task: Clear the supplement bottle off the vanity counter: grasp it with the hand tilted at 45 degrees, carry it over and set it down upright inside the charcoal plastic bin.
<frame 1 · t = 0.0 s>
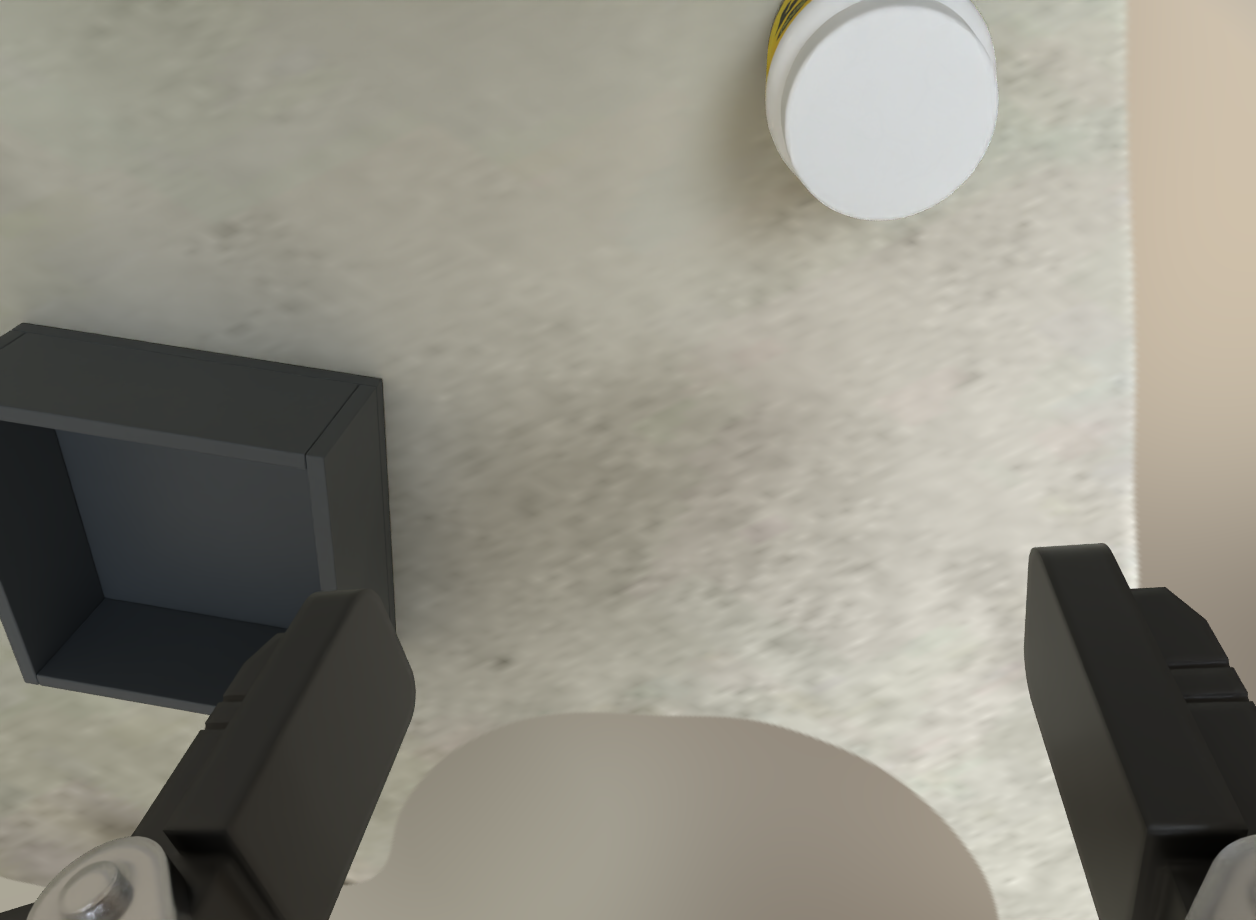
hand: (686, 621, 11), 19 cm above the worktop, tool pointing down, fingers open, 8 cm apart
supplement bottle: (856, 44, 24), on the worktop
bin: (227, 499, 36), on the worktop
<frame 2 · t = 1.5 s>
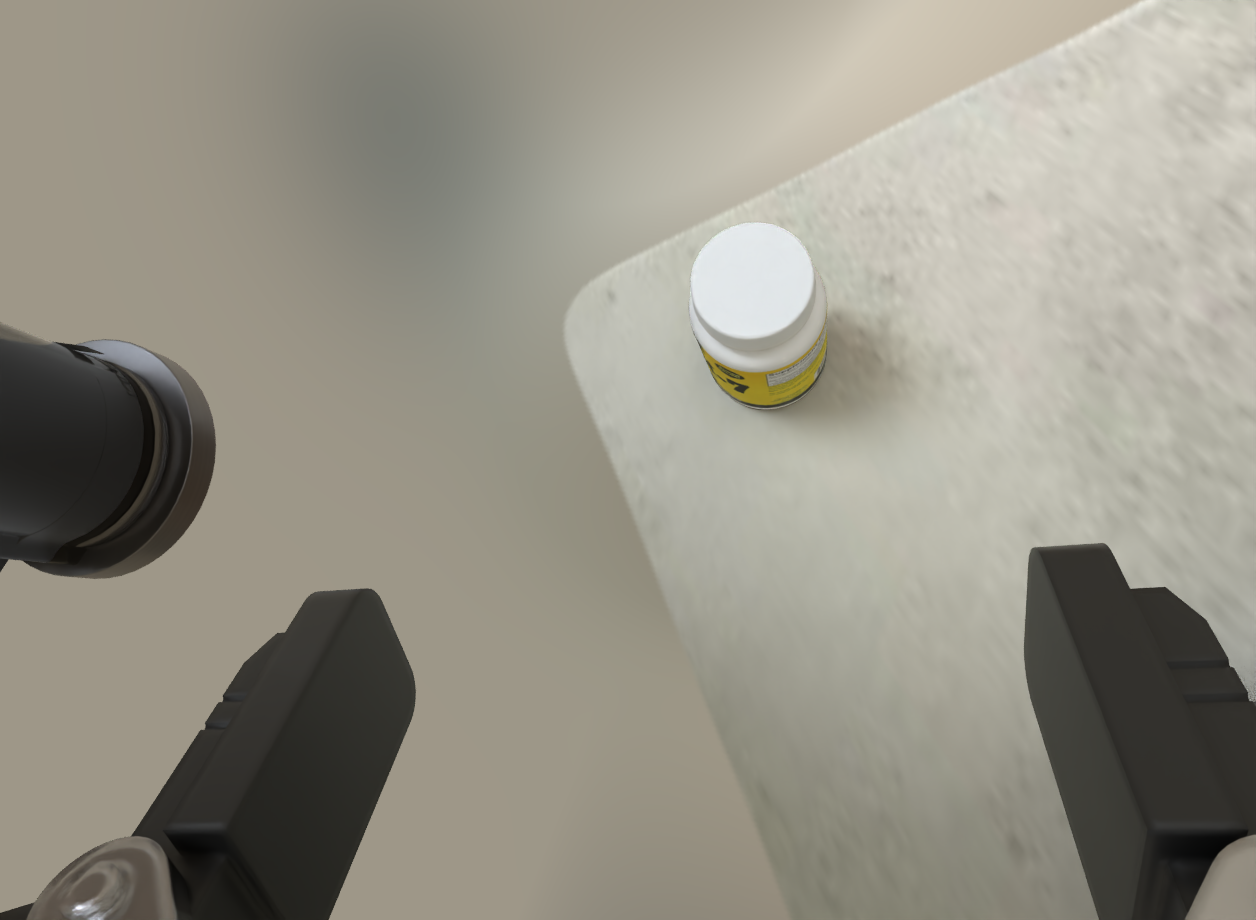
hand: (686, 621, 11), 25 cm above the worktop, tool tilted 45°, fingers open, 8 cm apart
supplement bottle: (767, 357, 37), on the worktop
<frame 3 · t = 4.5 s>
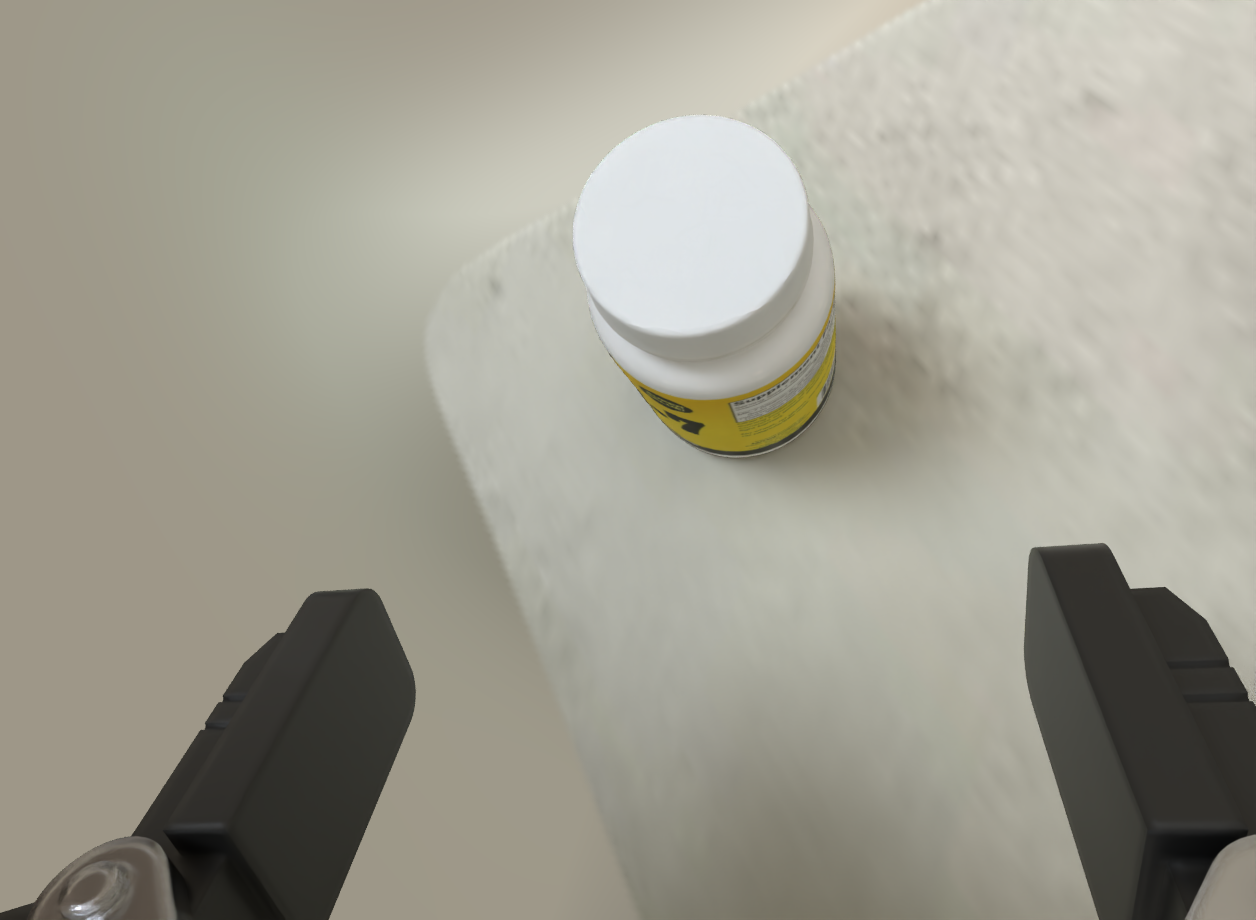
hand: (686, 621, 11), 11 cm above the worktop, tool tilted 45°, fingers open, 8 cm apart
supplement bottle: (740, 372, 23), on the worktop
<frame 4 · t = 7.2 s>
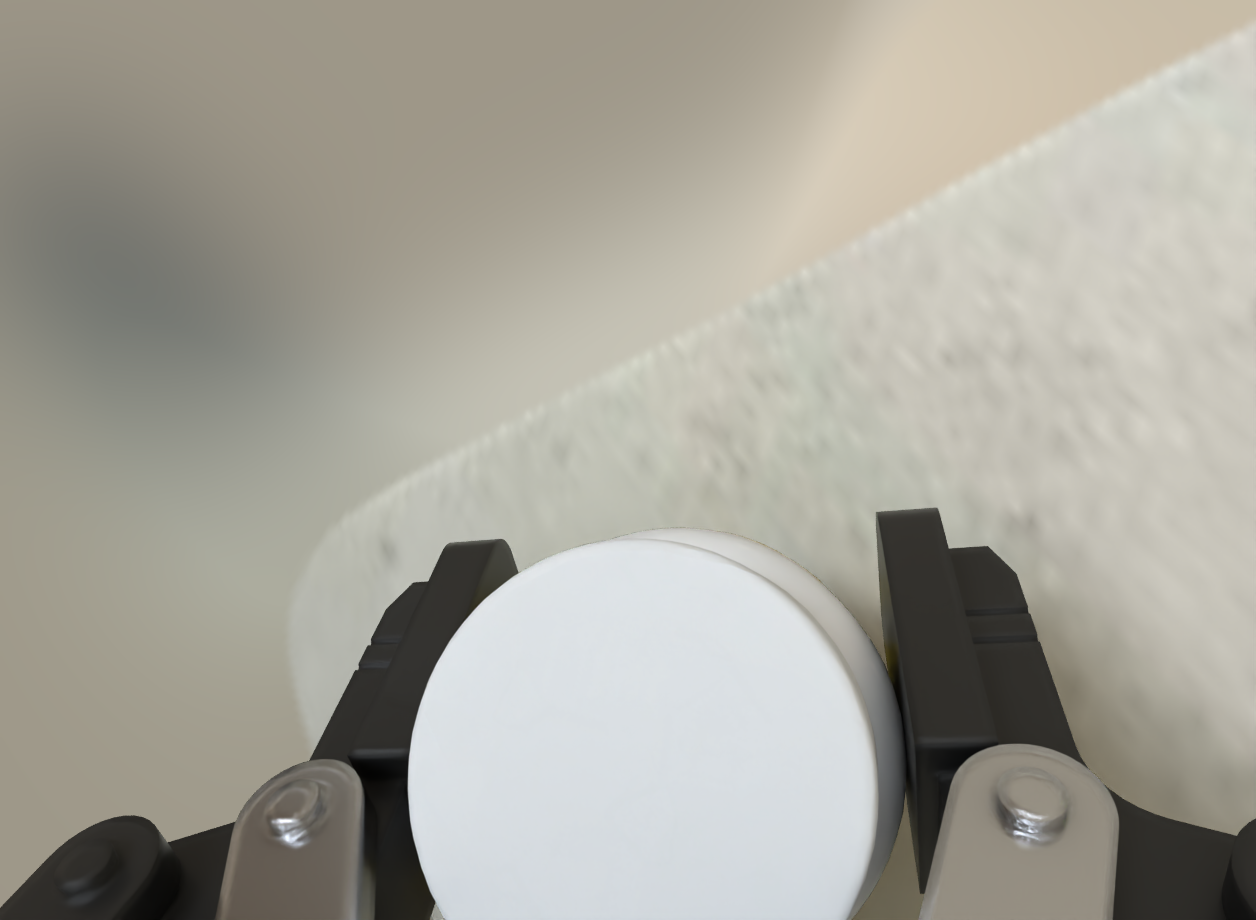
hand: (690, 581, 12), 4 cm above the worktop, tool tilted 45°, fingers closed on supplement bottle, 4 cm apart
supplement bottle: (737, 710, 16), on the worktop, touching gripper
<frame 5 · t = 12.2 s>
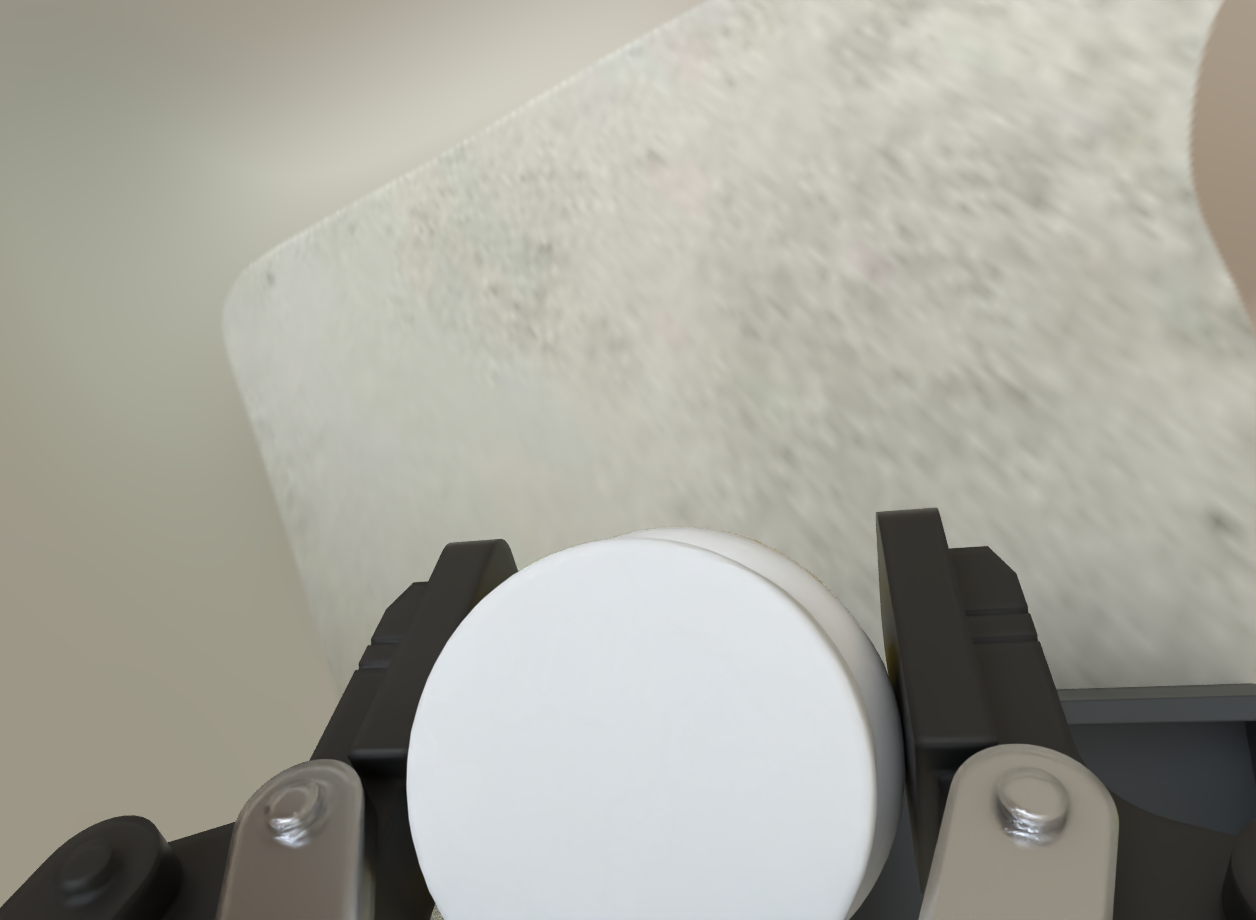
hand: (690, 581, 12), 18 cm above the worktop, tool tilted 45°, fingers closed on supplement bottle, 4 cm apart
supplement bottle: (737, 710, 16), point 14 cm above the worktop, touching gripper
when the fingers open (5 cm above the worktop, at t = 17.5 s): supplement bottle stays where it is, resting on bin.
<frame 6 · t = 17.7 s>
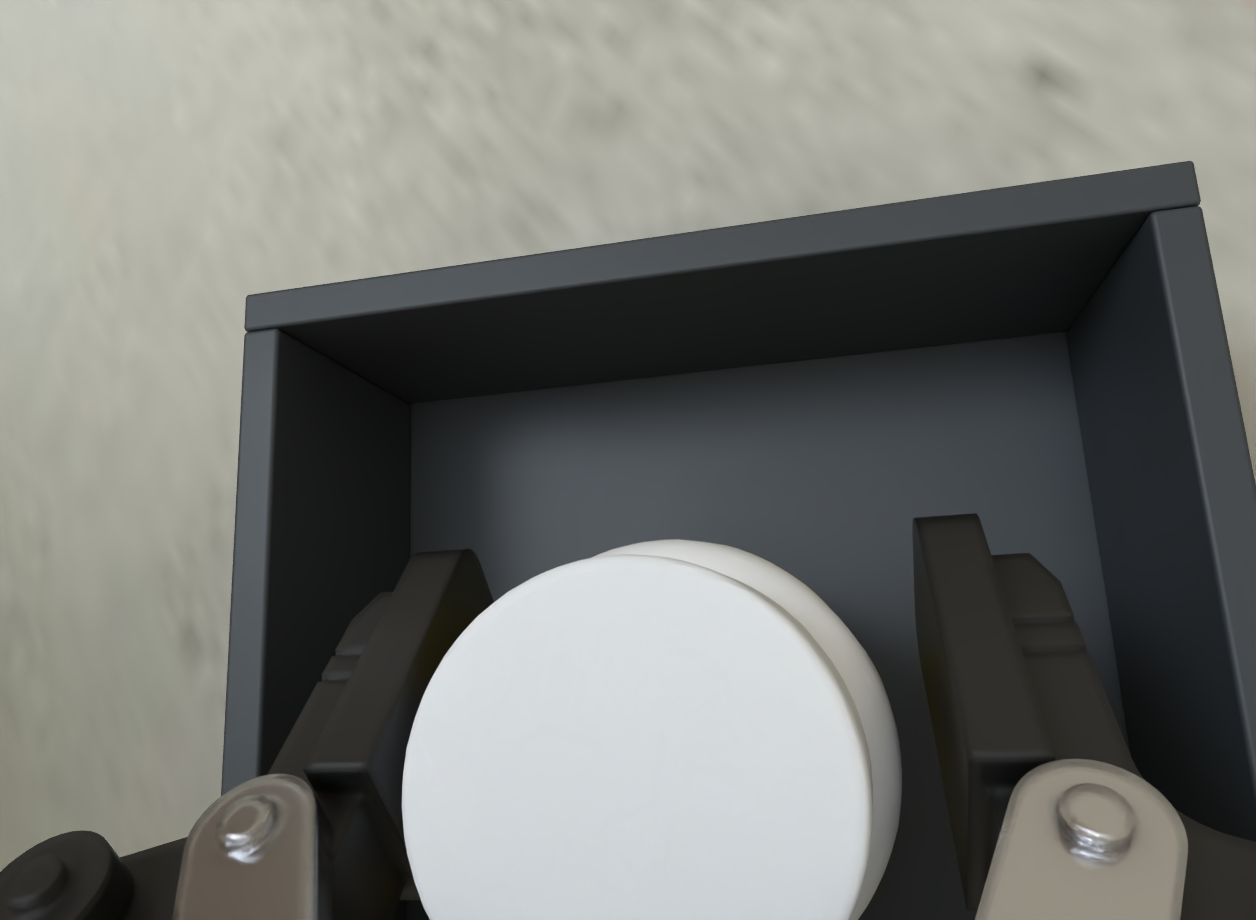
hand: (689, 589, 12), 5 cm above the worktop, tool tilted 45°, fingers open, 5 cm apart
supplement bottle: (735, 718, 16), resting on bin
bin: (739, 706, 16), on the worktop
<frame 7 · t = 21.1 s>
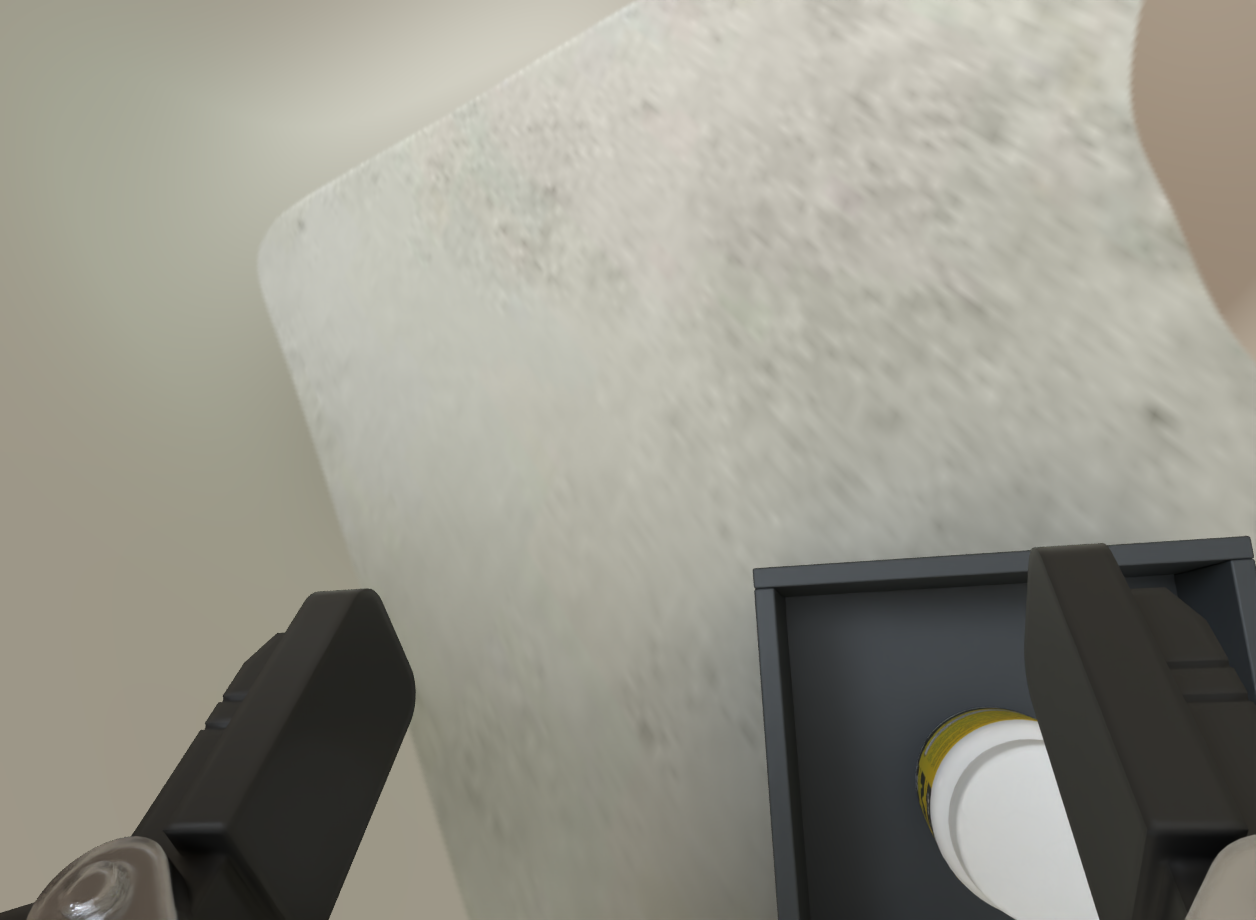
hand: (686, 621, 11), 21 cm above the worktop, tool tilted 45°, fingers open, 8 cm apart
supplement bottle: (993, 784, 29), resting on bin
bin: (991, 777, 29), on the worktop
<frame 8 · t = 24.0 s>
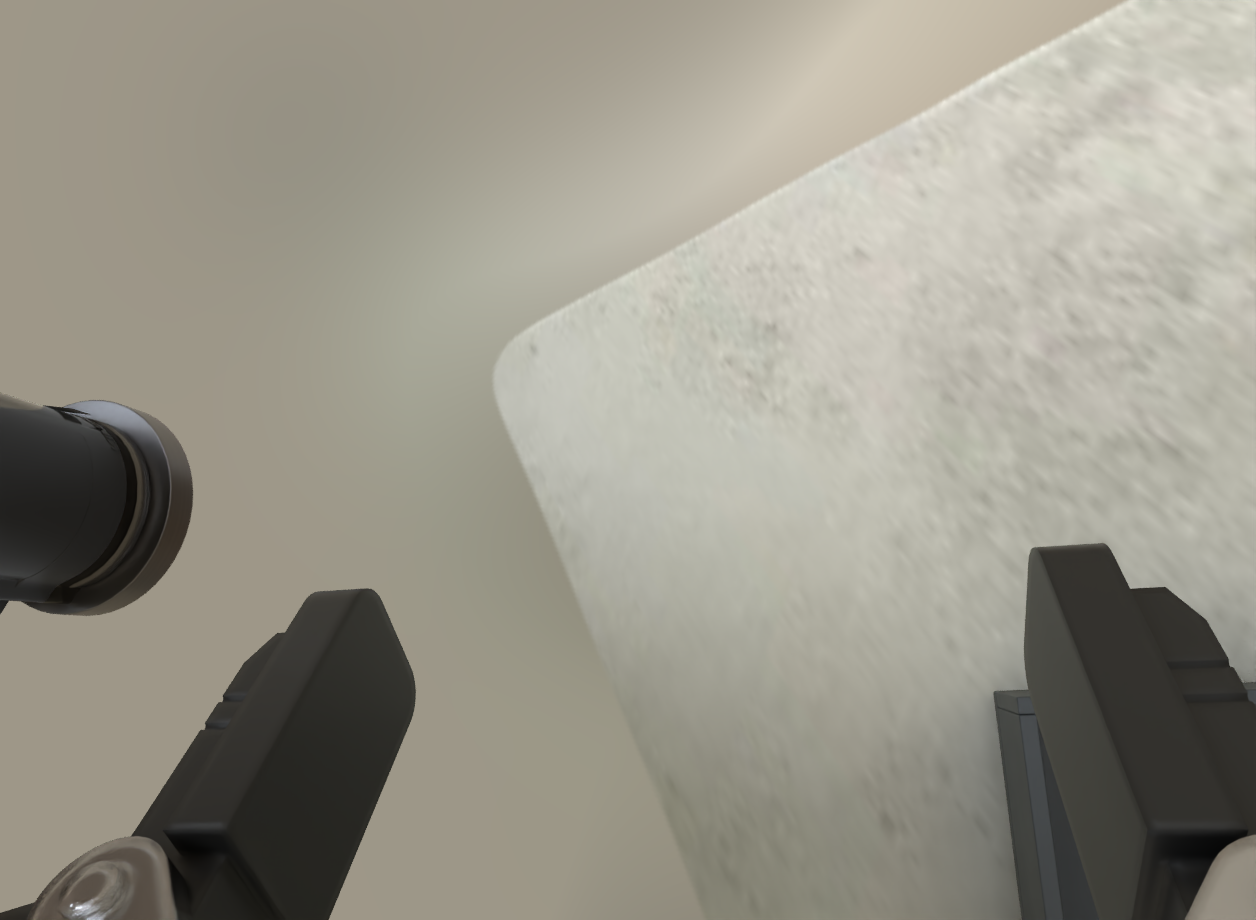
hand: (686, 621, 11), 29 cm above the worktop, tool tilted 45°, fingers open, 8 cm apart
bin: (1204, 868, 34), on the worktop
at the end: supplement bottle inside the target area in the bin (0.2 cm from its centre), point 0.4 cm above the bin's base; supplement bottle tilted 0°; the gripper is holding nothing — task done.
